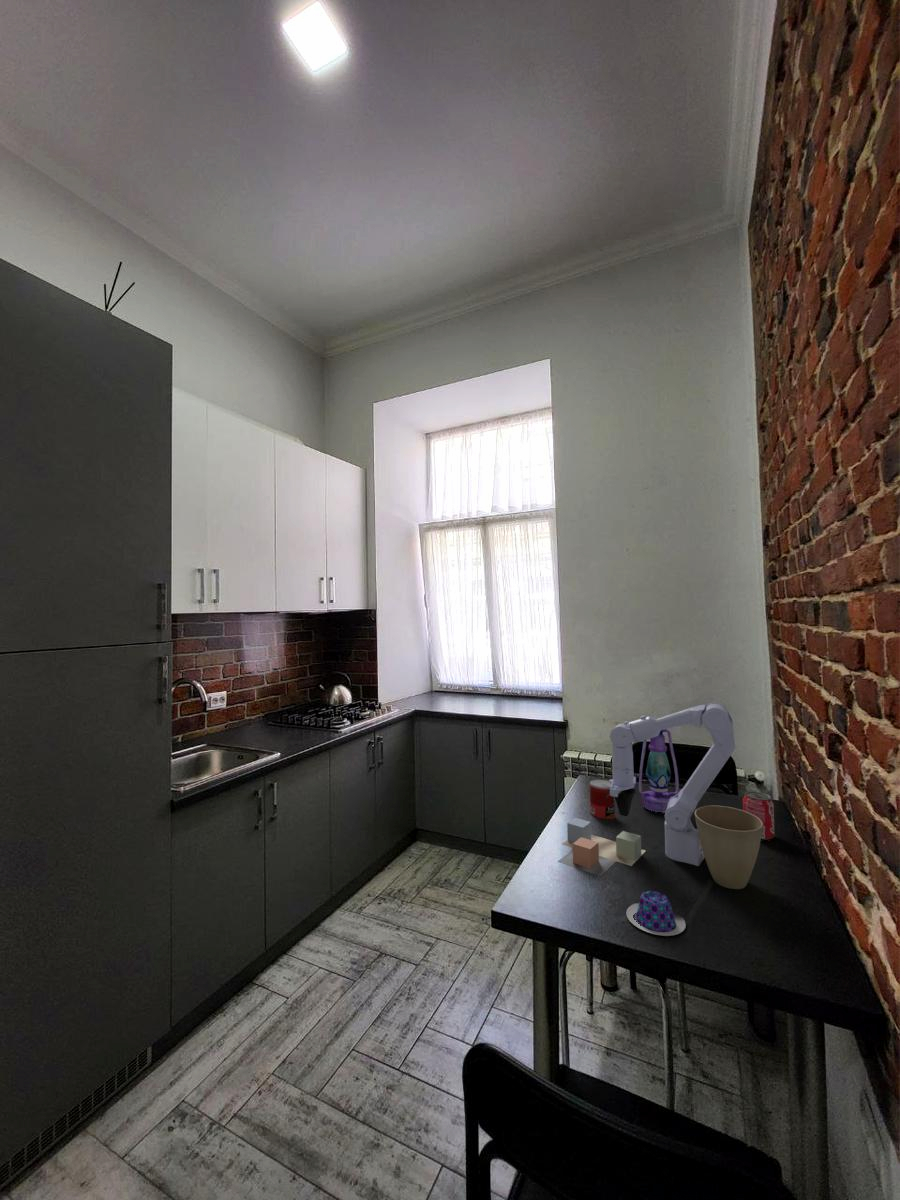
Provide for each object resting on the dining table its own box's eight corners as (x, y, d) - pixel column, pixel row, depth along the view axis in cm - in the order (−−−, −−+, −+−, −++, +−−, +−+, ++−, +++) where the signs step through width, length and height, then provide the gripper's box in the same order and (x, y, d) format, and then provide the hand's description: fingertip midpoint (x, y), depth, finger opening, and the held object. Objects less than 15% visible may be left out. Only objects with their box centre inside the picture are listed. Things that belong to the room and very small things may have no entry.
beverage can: (765, 830, 153) (764, 791, 153) (780, 842, 145) (779, 800, 145) (738, 829, 154) (737, 790, 154) (751, 841, 146) (750, 799, 146)
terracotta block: (598, 861, 133) (598, 842, 133) (590, 868, 129) (590, 849, 129) (581, 855, 136) (581, 837, 136) (573, 862, 132) (572, 843, 133)
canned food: (610, 823, 159) (609, 789, 159) (586, 817, 164) (585, 784, 164) (618, 815, 165) (617, 782, 166) (595, 810, 170) (594, 777, 170)
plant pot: (730, 904, 115) (727, 835, 115) (683, 871, 129) (681, 809, 130) (780, 892, 119) (778, 825, 119) (730, 861, 133) (727, 802, 134)
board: (646, 854, 139) (645, 850, 139) (616, 885, 123) (616, 881, 123) (579, 834, 152) (579, 831, 152) (544, 860, 136) (544, 856, 136)
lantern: (645, 815, 166) (643, 724, 167) (634, 802, 177) (632, 717, 178) (686, 815, 165) (683, 724, 166) (671, 802, 177) (669, 717, 178)
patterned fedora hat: (614, 917, 111) (614, 893, 111) (648, 899, 117) (648, 877, 117) (663, 946, 101) (662, 920, 101) (697, 926, 107) (696, 901, 107)
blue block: (591, 839, 146) (590, 822, 146) (583, 845, 142) (583, 827, 142) (575, 834, 149) (575, 817, 149) (567, 840, 145) (567, 823, 146)
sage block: (641, 854, 137) (640, 835, 137) (634, 861, 133) (634, 842, 133) (623, 848, 140) (623, 830, 140) (616, 855, 136) (616, 837, 136)
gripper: (619, 758, 151) (620, 804, 151) (598, 770, 140) (600, 819, 140) (642, 763, 147) (643, 809, 146) (623, 775, 136) (624, 826, 135)
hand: (624, 814), depth 143 cm, fingers closed
